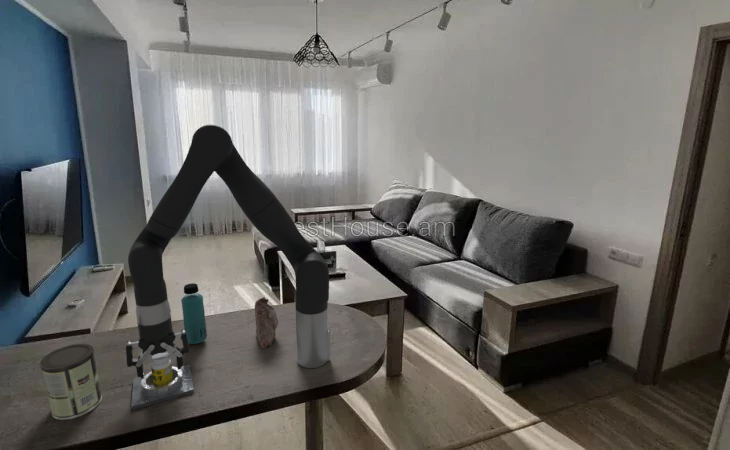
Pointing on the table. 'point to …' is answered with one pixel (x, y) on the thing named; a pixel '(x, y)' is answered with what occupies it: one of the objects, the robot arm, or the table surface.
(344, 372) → the table surface
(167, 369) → the supplement bottle
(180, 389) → the ring base
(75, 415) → the coffee can
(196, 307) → the beverage bottle
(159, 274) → the robot arm
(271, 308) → the stone
